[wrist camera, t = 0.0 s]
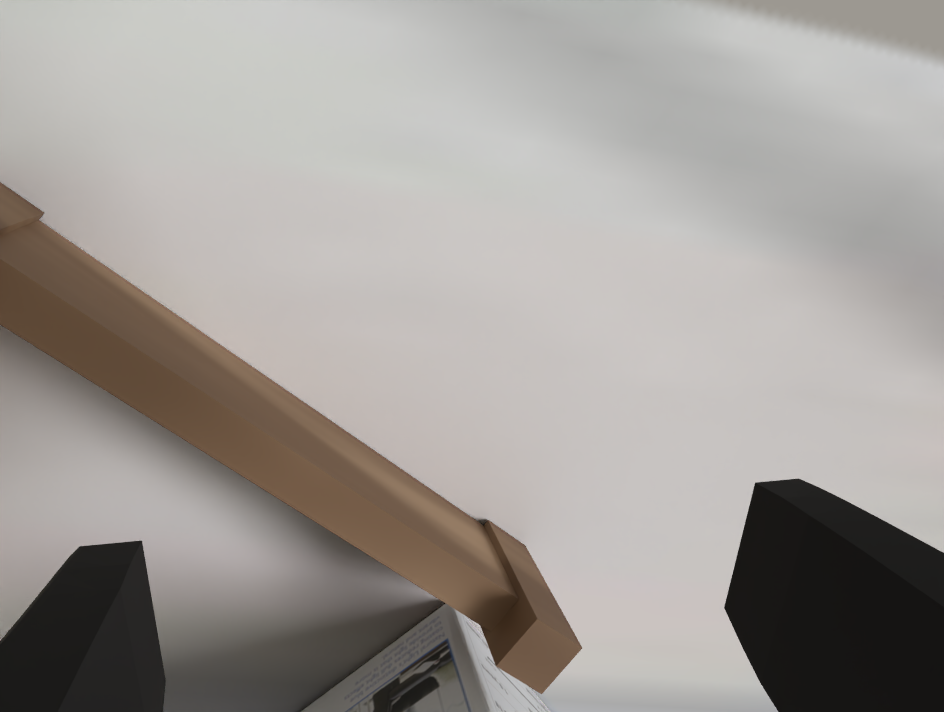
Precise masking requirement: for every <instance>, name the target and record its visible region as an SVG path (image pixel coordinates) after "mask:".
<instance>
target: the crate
mask: <svg viewBox="0 0 944 712" xmlns="http://www.w3.org/2000/svg"><path fill="white" fill-rule="evenodd" d="M43 214H44V212H42V211H41V210H40V209H38V208H37V207H35V206H34V205H32V204H31V203H29V202H28V201H27V200H25V199H24V198H22V197H21V196H19V195H18V194H16V193H15V192H13V191H12V190H11V189H9V188H8V187H6V186H5V185H3V184H2V183H0V325H2V326H3V327H5V328H7V329H8V330H10V331H11V332H13V333H15V334H16V335H18V336H19V337H21V338H23V339H24V340H26V341H27V342H29V343H31V344H32V345H34V346H35V347H37V348H39V349H40V350H42V351H43V352H45V353H47V354H48V355H50V356H51V357H53V358H55V359H56V360H58V361H59V362H61V363H62V364H64V365H66V366H67V367H69V368H70V369H72V370H74V371H75V372H77V373H78V374H80V375H82V376H83V377H85V378H86V379H88V380H90V381H91V382H93V383H94V384H96V385H98V386H99V387H101V388H102V389H104V390H106V391H107V392H109V393H110V394H112V395H114V396H115V397H117V398H118V399H120V400H122V401H123V402H125V403H126V404H128V405H130V406H131V407H133V408H134V409H136V410H138V411H139V412H141V413H142V414H144V415H146V416H147V417H149V418H150V419H152V420H154V421H155V422H157V423H158V424H160V425H162V426H163V427H165V428H166V429H168V430H170V431H171V432H173V433H174V434H176V435H177V436H179V437H181V438H182V439H184V440H185V441H187V442H189V443H190V444H192V445H193V446H195V447H197V448H198V449H200V450H201V451H203V452H205V453H206V454H208V455H209V456H211V457H213V458H214V459H216V460H217V461H219V462H221V463H222V464H224V465H225V466H227V467H229V468H230V469H232V470H233V471H235V472H237V473H238V474H240V475H241V476H243V477H245V478H246V479H248V480H249V481H251V482H253V483H254V484H256V485H257V486H259V487H261V488H262V489H264V490H265V491H267V492H269V493H270V494H272V495H273V496H275V497H277V498H278V499H280V500H281V501H283V502H285V503H286V504H288V505H289V506H291V507H292V508H294V509H296V510H297V511H299V512H300V513H302V514H304V515H305V516H307V517H308V518H310V519H312V520H313V521H315V522H316V523H318V524H320V525H321V526H323V527H324V528H326V529H328V530H329V531H331V532H332V533H334V534H336V535H337V536H339V537H340V538H342V539H344V540H345V541H347V542H348V543H350V544H352V545H353V546H355V547H356V548H358V549H360V550H361V551H363V552H364V553H366V554H368V555H369V556H371V557H372V558H374V559H376V560H377V561H379V562H380V563H382V564H384V565H385V566H387V567H388V568H390V569H392V570H393V571H395V572H396V573H398V574H400V575H401V576H403V577H404V578H406V579H407V580H409V581H411V582H412V583H414V584H415V585H417V586H419V587H420V588H422V589H423V590H425V591H427V592H428V593H430V594H431V595H433V596H435V597H436V598H438V599H439V600H441V601H443V602H444V603H446V604H447V605H449V606H451V607H452V608H454V609H455V610H457V611H459V612H460V613H462V614H463V615H465V616H467V617H468V618H470V619H471V620H473V621H475V622H476V623H478V624H479V625H480V626H481V628H482V631H483V633H484V636H485V639H486V641H487V644H488V647H489V649H490V652H491V655H492V657H493V660H494V662H495V665H496V667H498V668H499V669H501V670H503V671H504V672H506V673H508V674H509V675H511V676H513V677H514V678H516V679H518V680H519V681H521V682H523V683H524V684H526V685H527V686H529V687H531V688H532V689H534V690H536V691H537V692H539V693H541V694H542V693H543V692H544V691H545V690H546V689H547V688H548V686H549V685H550V684H551V683H552V682H553V681H554V680H555V678H556V677H557V676H558V675H559V674H560V673H561V672H562V670H563V669H564V668H565V667H566V666H567V665H568V664H569V663H570V661H571V660H572V659H573V658H574V657H575V656H576V655H577V653H578V652H579V651H580V650H581V649H582V647H581V645H580V643H579V641H578V639H577V638H576V636H575V634H574V632H573V630H572V629H571V627H570V625H569V623H568V621H567V620H566V618H565V616H564V614H563V612H562V611H561V609H560V607H559V605H558V603H557V602H556V600H555V598H554V596H553V595H552V593H551V591H550V589H549V587H548V586H547V584H546V582H545V580H544V578H543V577H542V575H541V573H540V571H539V569H538V568H537V566H536V564H535V562H534V560H533V559H532V557H531V555H530V553H529V551H528V550H527V548H526V546H525V545H524V544H522V543H521V542H519V541H518V540H516V539H515V538H513V537H512V536H511V535H509V534H508V533H506V532H505V531H503V530H502V529H500V528H499V527H498V526H496V525H495V524H493V523H492V522H490V521H489V520H488V521H487V522H486V523H485V524H484V525H482V524H480V523H479V522H478V521H476V520H475V519H473V518H472V517H470V516H469V515H467V514H466V513H464V512H463V511H462V510H460V509H459V508H457V507H456V506H454V505H453V504H451V503H450V502H448V501H447V500H445V499H444V498H443V497H441V496H440V495H438V494H437V493H435V492H434V491H432V490H431V489H429V488H428V487H427V486H425V485H424V484H422V483H421V482H419V481H418V480H416V479H415V478H413V477H412V476H411V475H409V474H408V473H406V472H405V471H403V470H402V469H400V468H399V467H397V466H396V465H395V464H393V463H392V462H390V461H389V460H387V459H386V458H384V457H383V456H381V455H380V454H379V453H377V452H376V451H374V450H373V449H371V448H370V447H368V446H367V445H365V444H364V443H362V442H361V441H360V440H358V439H357V438H355V437H354V436H352V435H351V434H349V433H348V432H346V431H345V430H344V429H342V428H341V427H339V426H338V425H336V424H335V423H333V422H332V421H330V420H329V419H328V418H326V417H325V416H323V415H322V414H320V413H319V412H317V411H316V410H314V409H313V408H312V407H310V406H309V405H307V404H306V403H304V402H303V401H301V400H300V399H298V398H297V397H296V396H294V395H293V394H291V393H290V392H288V391H287V390H285V389H284V388H282V387H281V386H279V385H278V384H277V383H275V382H274V381H272V380H271V379H269V378H268V377H266V376H265V375H263V374H262V373H261V372H259V371H258V370H256V369H255V368H253V367H252V366H250V365H249V364H247V363H246V362H245V361H243V360H242V359H240V358H239V357H237V356H236V355H234V354H233V353H231V352H230V351H229V350H227V349H226V348H224V347H223V346H221V345H220V344H218V343H217V342H215V341H214V340H213V339H211V338H210V337H208V336H207V335H205V334H204V333H202V332H201V331H199V330H198V329H196V328H195V327H194V326H192V325H191V324H189V323H188V322H186V321H185V320H183V319H182V318H180V317H179V316H178V315H176V314H175V313H173V312H172V311H170V310H169V309H167V308H166V307H164V306H163V305H162V304H160V303H159V302H157V301H156V300H154V299H153V298H151V297H150V296H148V295H147V294H146V293H144V292H143V291H141V290H140V289H138V288H137V287H135V286H134V285H132V284H131V283H130V282H128V281H127V280H125V279H124V278H122V277H121V276H119V275H118V274H116V273H115V272H113V271H112V270H111V269H109V268H108V267H106V266H105V265H103V264H102V263H100V262H99V261H97V260H96V259H95V258H93V257H92V256H90V255H89V254H87V253H86V252H84V251H83V250H81V249H80V248H79V247H77V246H76V245H74V244H73V243H71V242H70V241H68V240H67V239H65V238H64V237H63V236H61V235H60V234H58V233H57V232H55V231H54V230H52V229H51V228H49V227H48V226H47V225H45V224H44V223H42V222H41V221H39V219H40V218H41V217H42V215H43Z"/></svg>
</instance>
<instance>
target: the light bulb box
mask: <svg viewBox="0 0 944 712" xmlns="http://www.w3.org/2000/svg"><path fill="white" fill-rule="evenodd" d="M301 712H551V711H550V710H549V709H548V708H547V707H546V705H545V704H544V703H543V702H542V701H541V700H540V699H539V698H538V696H537V695H536V694H535V693H534V692H533V691H532V690H531V689H530V687H529V686H527V685H526V684H524V683H523V682H521V681H519V680H518V679H516V678H514V677H513V676H511V675H509V674H508V673H506V672H504V671H503V670H501V669H499V668H498V667H496V665H495V662H494V660H493V657H492V655H491V652H490V649H489V647H488V644H487V641H486V639H485V637H484V636H483V635H482V634H481V633H480V632H479V631H478V629H477V628H476V627H475V626H474V625H473V624H472V623H471V622H470V620H469V619H468V618H467V617H466V616H465V615H463V614H462V613H460V612H459V611H457V610H455V609H454V608H452V607H451V606H449V605H447V604H444V605H443V606H442V607H440V608H439V609H438V610H436V611H435V612H434V613H432V614H431V615H429V616H428V617H427V618H425V619H424V620H423V621H421V622H420V623H419V624H417V625H416V626H415V627H413V628H412V629H411V630H409V631H408V632H407V633H405V634H404V635H403V636H401V637H400V638H399V639H397V640H396V641H395V642H393V643H392V644H391V645H389V646H388V647H387V648H385V649H384V650H383V651H381V652H380V653H379V654H377V655H376V656H375V657H373V658H372V659H371V660H369V661H368V662H367V663H365V664H364V665H363V666H361V667H360V668H359V669H357V670H356V671H355V672H353V673H352V674H351V675H349V676H348V677H346V678H345V679H344V680H342V681H341V682H340V683H338V684H337V685H336V686H334V687H333V688H332V689H330V690H329V691H328V692H326V693H325V694H324V695H322V696H321V697H320V698H318V699H317V700H316V701H314V702H313V703H312V704H310V705H309V706H308V707H306V708H305V709H304V710H302V711H301Z"/></svg>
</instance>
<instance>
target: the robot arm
mask: <svg viewBox="0 0 944 712" xmlns="http://www.w3.org/2000/svg"><path fill="white" fill-rule="evenodd" d="M724 608H725V610H726V612H727V615H728V617H729V619H730V621H731V623H732V626H733V628H734V630H735V632H736V634H737V636H738V639H739V641H740V643H741V645H742V647H743V649H744V651H745V653H746V655H747V657H748V659H749V661H750V663H751V665H752V667H753V669H754V671H755V673H756V675H757V677H758V679H759V681H760V683H761V685H762V686H763V688H764V689H765V691H766V693H767V694H768V696H769V697H770V699H771V701H772V702H773V704H774V705H775V707H776V708H777V710H778V712H944V553H943V552H941V551H939V550H937V549H935V548H933V547H932V546H930V545H928V544H926V543H924V542H922V541H920V540H918V539H917V538H915V537H913V536H911V535H909V534H907V533H905V532H904V531H902V530H900V529H898V528H896V527H894V526H892V525H891V524H889V523H887V522H885V521H883V520H881V519H879V518H878V517H876V516H874V515H872V514H870V513H868V512H866V511H864V510H862V509H860V508H859V507H857V506H855V505H853V504H851V503H849V502H847V501H845V500H843V499H841V498H839V497H837V496H835V495H833V494H831V493H829V492H827V491H825V490H823V489H821V488H819V487H816V486H814V485H812V484H810V483H807V482H805V481H803V480H801V479H790V480H780V481H769V482H759V483H755V486H754V490H753V494H752V498H751V502H750V506H749V510H748V514H747V518H746V522H745V526H744V530H743V534H742V538H741V542H740V547H739V551H738V555H737V559H736V563H735V567H734V571H733V575H732V579H731V583H730V587H729V591H728V595H727V599H726V603H725V607H724ZM164 692H165V675H164V669H163V663H162V657H161V651H160V645H159V639H158V633H157V627H156V622H155V616H154V610H153V604H152V598H151V592H150V586H149V580H148V574H147V568H146V563H145V557H144V551H143V545H142V541H133V542H123V543H112V544H102V545H91V546H80V547H79V548H78V549H77V550H76V551H75V552H74V553H73V554H72V555H71V556H70V557H69V558H68V559H67V560H66V562H65V563H64V564H63V565H62V567H61V568H60V569H59V570H58V571H57V573H56V574H55V575H54V576H53V578H52V579H51V580H50V581H49V583H48V584H47V585H46V586H45V587H44V589H43V590H42V591H41V592H40V594H39V595H38V596H37V597H36V599H35V600H34V601H33V602H32V604H31V605H30V606H29V607H28V608H27V610H26V611H25V612H24V613H23V615H22V616H21V617H20V618H19V619H18V621H17V622H16V623H15V624H14V625H13V627H12V628H11V629H10V630H9V631H8V633H7V634H6V635H5V636H4V637H3V639H2V640H1V641H0V712H163V703H164Z"/></svg>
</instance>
